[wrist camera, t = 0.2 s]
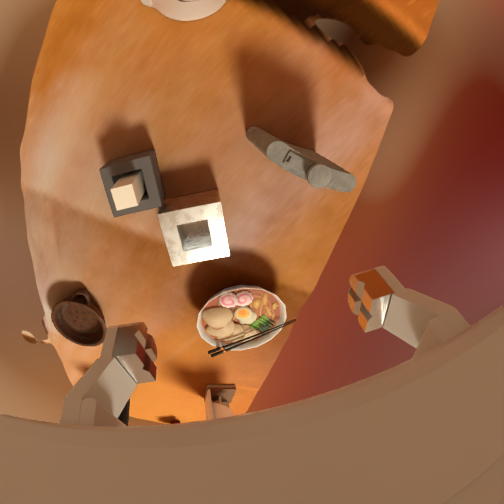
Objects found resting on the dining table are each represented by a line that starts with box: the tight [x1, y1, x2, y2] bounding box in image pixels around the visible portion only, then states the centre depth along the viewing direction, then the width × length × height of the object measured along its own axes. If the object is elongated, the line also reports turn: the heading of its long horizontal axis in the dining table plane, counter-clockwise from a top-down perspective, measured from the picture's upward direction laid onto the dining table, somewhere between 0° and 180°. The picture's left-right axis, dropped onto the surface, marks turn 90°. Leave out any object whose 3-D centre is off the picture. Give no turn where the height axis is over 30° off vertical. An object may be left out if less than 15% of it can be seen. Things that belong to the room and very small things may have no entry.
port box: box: [158, 189, 230, 267], centre depth 56 cm, size 12×12×7 cm
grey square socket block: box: [99, 149, 165, 217], centre depth 49 cm, size 10×10×6 cm
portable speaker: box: [118, 398, 130, 426], centre depth 80 cm, size 9×9×20 cm
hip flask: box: [246, 126, 356, 192], centre depth 45 cm, size 16×4×20 cm, turn 67°
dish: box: [51, 289, 107, 346], centre depth 65 cm, size 18×22×5 cm
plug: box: [110, 170, 146, 211], centre depth 46 cm, size 4×4×10 cm
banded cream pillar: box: [204, 385, 236, 420], centre depth 83 cm, size 11×11×35 cm
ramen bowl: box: [196, 285, 296, 357], centre depth 71 cm, size 25×23×8 cm
